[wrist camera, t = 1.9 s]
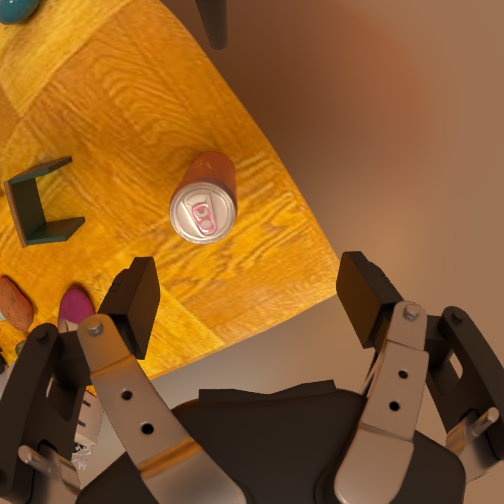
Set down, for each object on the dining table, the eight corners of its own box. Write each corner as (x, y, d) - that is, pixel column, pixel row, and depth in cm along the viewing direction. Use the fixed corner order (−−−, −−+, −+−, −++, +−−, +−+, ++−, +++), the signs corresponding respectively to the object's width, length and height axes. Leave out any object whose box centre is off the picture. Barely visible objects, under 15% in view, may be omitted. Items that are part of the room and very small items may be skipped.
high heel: (100, 289, 43) (76, 339, 33) (97, 364, 55) (84, 405, 44) (60, 273, 41) (31, 318, 30) (66, 352, 52) (51, 391, 42)
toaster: (97, 414, 70) (113, 403, 65) (84, 474, 49) (100, 475, 43) (39, 381, 61) (46, 365, 55) (19, 442, 40) (20, 437, 34)
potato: (31, 324, 46) (16, 341, 39) (0, 282, 42) (-18, 295, 35) (43, 312, 45) (26, 329, 38) (9, 266, 41) (-10, 279, 34)
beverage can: (198, 199, 37) (182, 254, 24) (184, 159, 34) (156, 194, 21) (240, 186, 37) (246, 235, 24) (227, 145, 34) (225, 170, 21)
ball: (58, -14, 15) (25, -21, 9) (34, 28, 19) (-1, 29, 12) (36, -17, 13) (5, -21, 6) (14, 22, 17) (-18, 23, 10)
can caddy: (71, 156, 32) (45, 168, 25) (85, 221, 37) (64, 243, 31) (29, 168, 31) (3, 182, 25) (44, 227, 36) (22, 247, 30)
